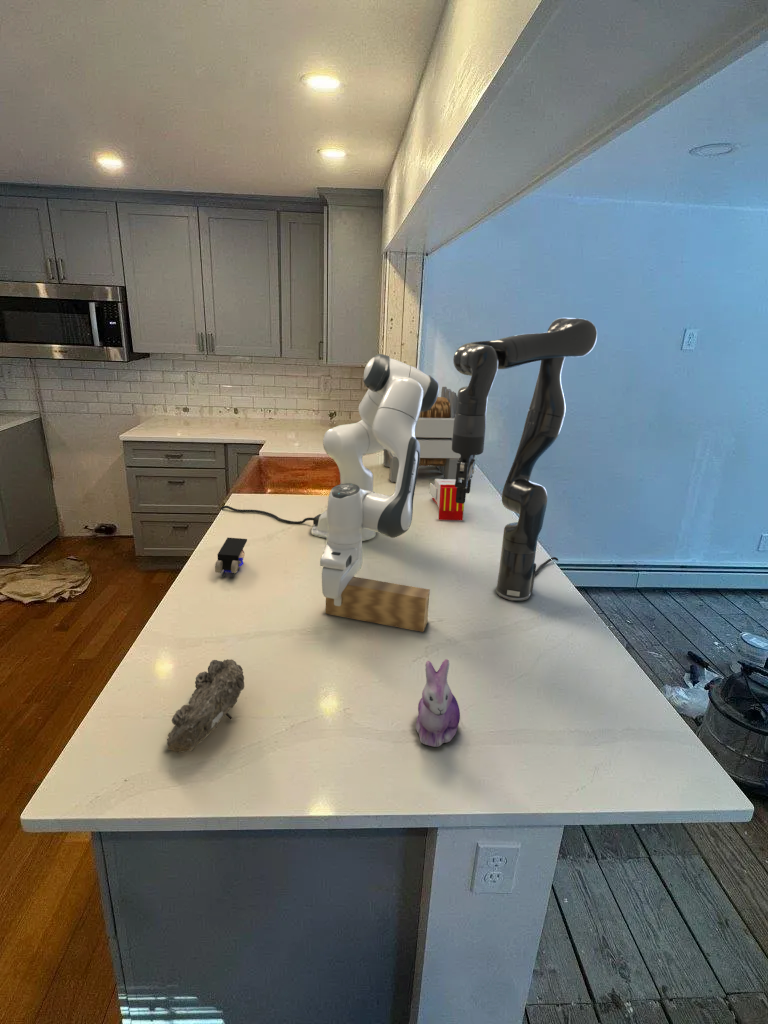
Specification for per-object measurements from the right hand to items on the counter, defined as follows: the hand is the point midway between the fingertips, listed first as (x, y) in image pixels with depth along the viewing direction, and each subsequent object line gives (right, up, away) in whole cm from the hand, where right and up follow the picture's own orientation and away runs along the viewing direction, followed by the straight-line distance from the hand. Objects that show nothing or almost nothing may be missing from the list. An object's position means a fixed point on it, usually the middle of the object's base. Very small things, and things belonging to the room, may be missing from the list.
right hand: (462, 497), depth 139 cm
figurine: (-9, -45, -32) cm, 56 cm away
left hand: (-30, -26, +7) cm, 40 cm away
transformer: (-2, +15, +136) cm, 137 cm away
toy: (+5, -2, +89) cm, 89 cm away
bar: (-21, -31, +6) cm, 38 cm away
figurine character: (-64, -21, +29) cm, 73 cm away
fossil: (-52, -43, -31) cm, 74 cm away
